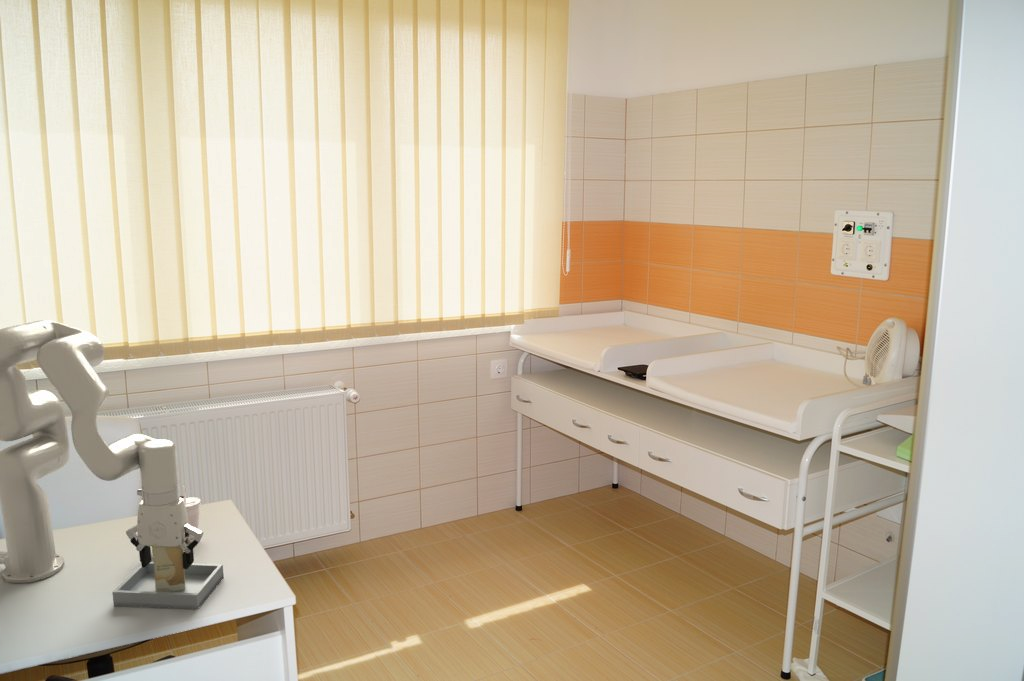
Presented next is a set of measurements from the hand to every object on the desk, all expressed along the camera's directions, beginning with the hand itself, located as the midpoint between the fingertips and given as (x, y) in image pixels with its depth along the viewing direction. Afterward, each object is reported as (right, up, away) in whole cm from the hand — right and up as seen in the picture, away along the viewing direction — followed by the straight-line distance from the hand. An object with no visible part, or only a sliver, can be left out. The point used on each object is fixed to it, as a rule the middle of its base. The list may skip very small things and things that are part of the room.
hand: (167, 565), depth 177 cm
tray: (0, -6, +1) cm, 7 cm away
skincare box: (0, -6, +1) cm, 6 cm away
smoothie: (-6, -1, +28) cm, 29 cm away
